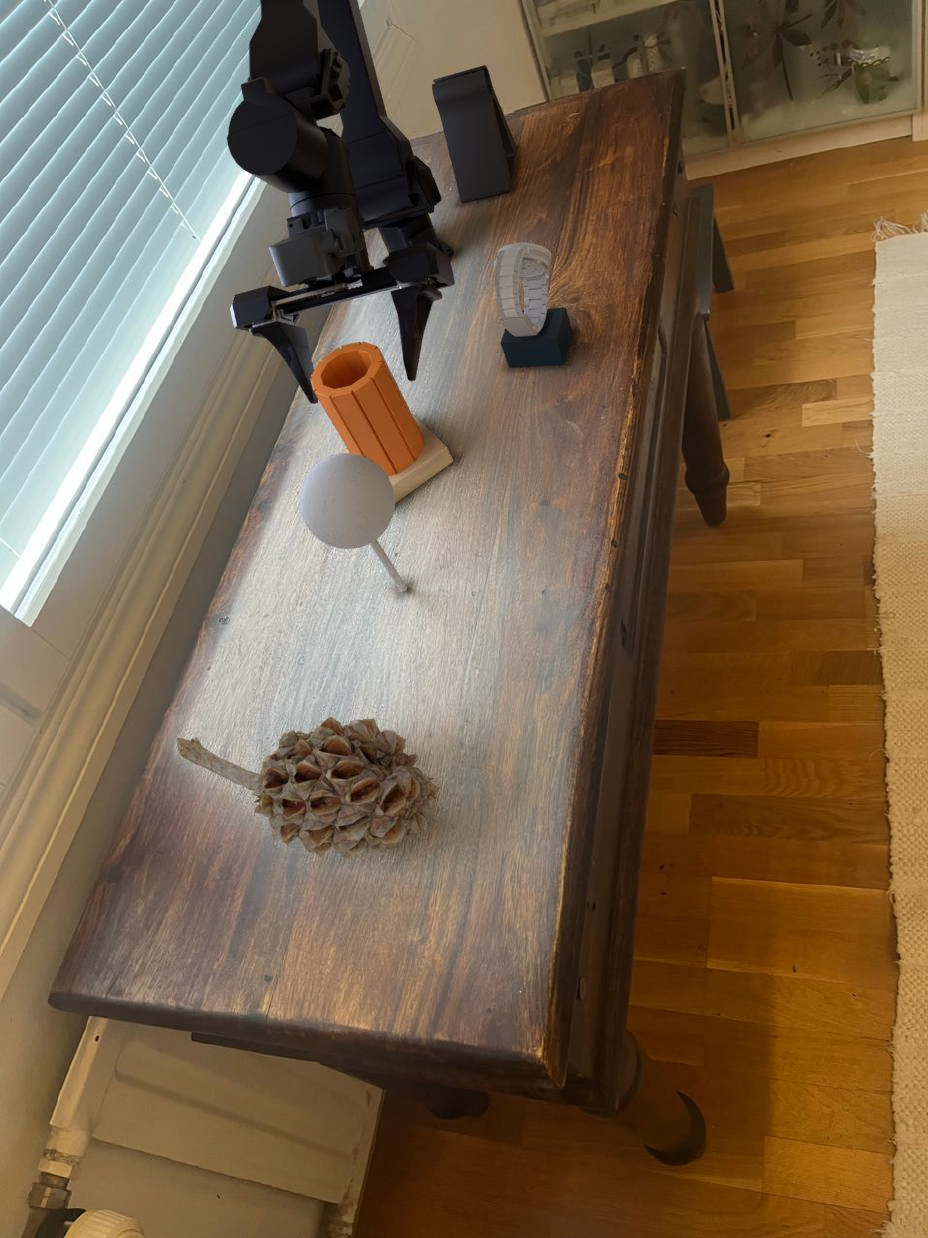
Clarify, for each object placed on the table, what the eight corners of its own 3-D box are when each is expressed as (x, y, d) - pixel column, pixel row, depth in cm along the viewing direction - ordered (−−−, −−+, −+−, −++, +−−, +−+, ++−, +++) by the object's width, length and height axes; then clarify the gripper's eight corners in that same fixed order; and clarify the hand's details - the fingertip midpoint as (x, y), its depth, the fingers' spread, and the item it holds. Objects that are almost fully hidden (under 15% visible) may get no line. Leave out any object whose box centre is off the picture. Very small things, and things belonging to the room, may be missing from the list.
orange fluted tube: (346, 454, 87) (298, 374, 79) (402, 414, 88) (361, 330, 80) (377, 489, 83) (330, 408, 75) (436, 446, 84) (395, 362, 76)
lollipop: (454, 558, 78) (386, 433, 67) (426, 628, 75) (350, 510, 64) (382, 552, 82) (305, 432, 70) (352, 619, 78) (266, 505, 67)
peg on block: (345, 468, 89) (310, 412, 83) (412, 421, 90) (383, 362, 84) (383, 512, 84) (349, 456, 78) (454, 461, 85) (426, 402, 79)
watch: (577, 319, 91) (550, 220, 82) (560, 377, 87) (530, 280, 78) (522, 323, 93) (491, 227, 84) (504, 381, 89) (469, 286, 80)
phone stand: (510, 192, 106) (480, 89, 97) (461, 204, 108) (426, 103, 99) (517, 148, 111) (488, 45, 102) (470, 160, 113) (437, 60, 104)
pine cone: (475, 764, 67) (429, 698, 59) (439, 895, 62) (383, 842, 55) (227, 732, 76) (158, 672, 68) (179, 845, 71) (99, 794, 63)
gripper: (176, 214, 73) (222, 413, 76) (396, 146, 68) (438, 361, 70) (243, 241, 84) (281, 415, 86) (437, 184, 79) (473, 370, 81)
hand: (362, 392), depth 81 cm, fingers open, 9 cm apart
